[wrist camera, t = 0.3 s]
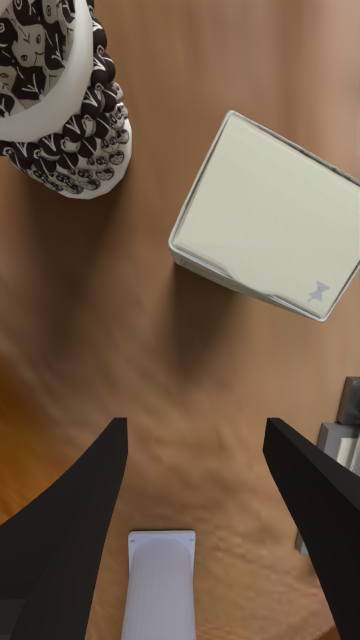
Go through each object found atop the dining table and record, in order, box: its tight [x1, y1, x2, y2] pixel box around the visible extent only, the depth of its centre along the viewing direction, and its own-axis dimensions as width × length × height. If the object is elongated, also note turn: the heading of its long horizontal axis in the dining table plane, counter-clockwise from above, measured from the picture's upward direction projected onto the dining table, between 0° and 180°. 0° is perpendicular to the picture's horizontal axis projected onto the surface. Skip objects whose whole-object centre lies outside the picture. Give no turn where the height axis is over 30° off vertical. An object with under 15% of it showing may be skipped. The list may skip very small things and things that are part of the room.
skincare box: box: [168, 111, 360, 322], centre depth 13 cm, size 6×4×12 cm
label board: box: [296, 423, 360, 554], centre depth 25 cm, size 18×8×1 cm, turn 178°
